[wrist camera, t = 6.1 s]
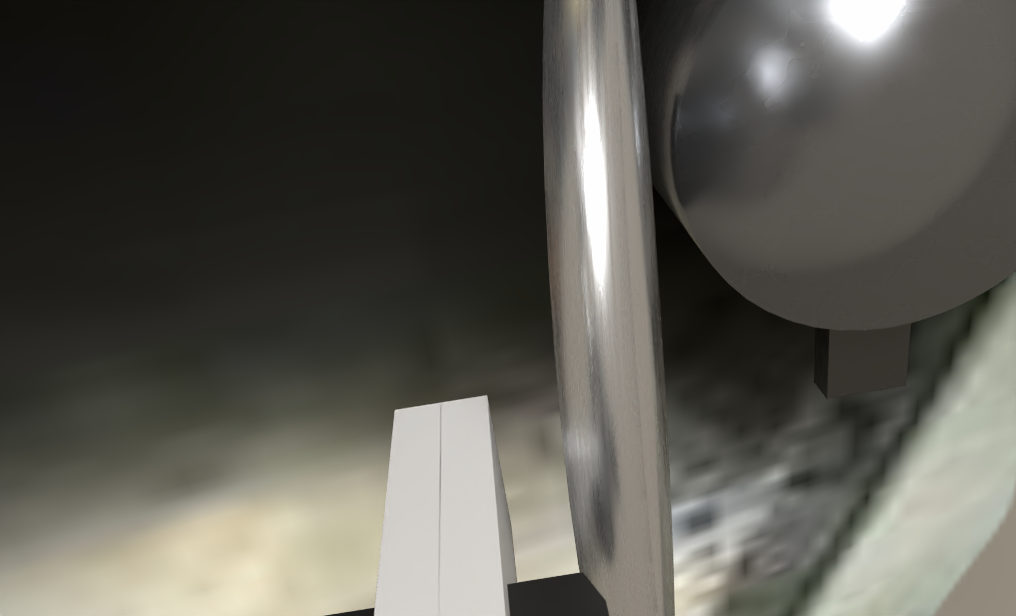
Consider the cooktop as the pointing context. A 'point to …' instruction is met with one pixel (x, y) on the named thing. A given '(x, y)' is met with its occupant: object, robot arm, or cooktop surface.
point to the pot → (839, 160)
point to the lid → (607, 303)
